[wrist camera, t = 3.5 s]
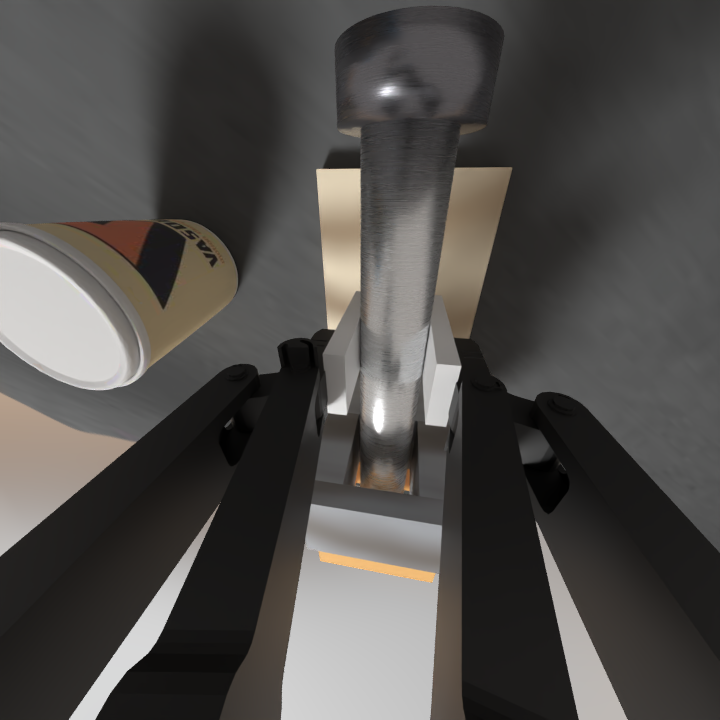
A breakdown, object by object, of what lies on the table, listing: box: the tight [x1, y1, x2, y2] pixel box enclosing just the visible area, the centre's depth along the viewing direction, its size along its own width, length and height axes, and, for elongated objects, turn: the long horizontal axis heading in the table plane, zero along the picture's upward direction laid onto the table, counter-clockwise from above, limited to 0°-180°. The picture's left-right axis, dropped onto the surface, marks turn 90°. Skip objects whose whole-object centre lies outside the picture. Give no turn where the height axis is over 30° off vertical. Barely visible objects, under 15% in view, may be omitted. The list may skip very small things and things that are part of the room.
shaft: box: [335, 6, 504, 494], centre depth 15 cm, size 28×4×4 cm, turn 0°
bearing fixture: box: [305, 167, 512, 574], centre depth 20 cm, size 32×12×15 cm, turn 0°
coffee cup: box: [0, 219, 238, 390], centre depth 19 cm, size 9×9×12 cm
